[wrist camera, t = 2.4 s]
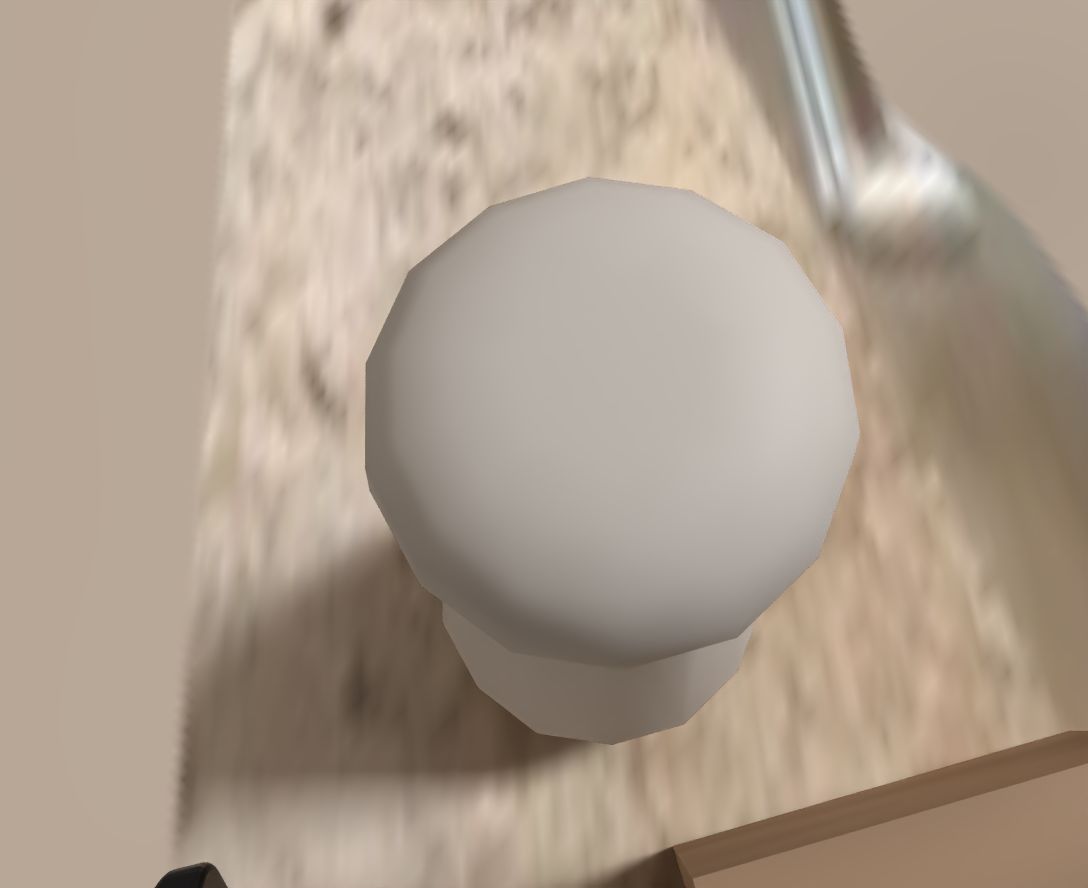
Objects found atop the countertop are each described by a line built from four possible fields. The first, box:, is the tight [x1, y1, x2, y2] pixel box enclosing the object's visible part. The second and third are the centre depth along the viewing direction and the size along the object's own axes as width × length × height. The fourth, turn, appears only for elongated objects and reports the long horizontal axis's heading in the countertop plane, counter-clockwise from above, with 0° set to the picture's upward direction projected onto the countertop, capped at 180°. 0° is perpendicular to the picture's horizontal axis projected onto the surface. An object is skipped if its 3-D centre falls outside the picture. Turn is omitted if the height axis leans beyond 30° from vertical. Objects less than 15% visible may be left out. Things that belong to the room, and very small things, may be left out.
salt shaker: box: [365, 177, 860, 745], centre depth 14 cm, size 6×6×13 cm
